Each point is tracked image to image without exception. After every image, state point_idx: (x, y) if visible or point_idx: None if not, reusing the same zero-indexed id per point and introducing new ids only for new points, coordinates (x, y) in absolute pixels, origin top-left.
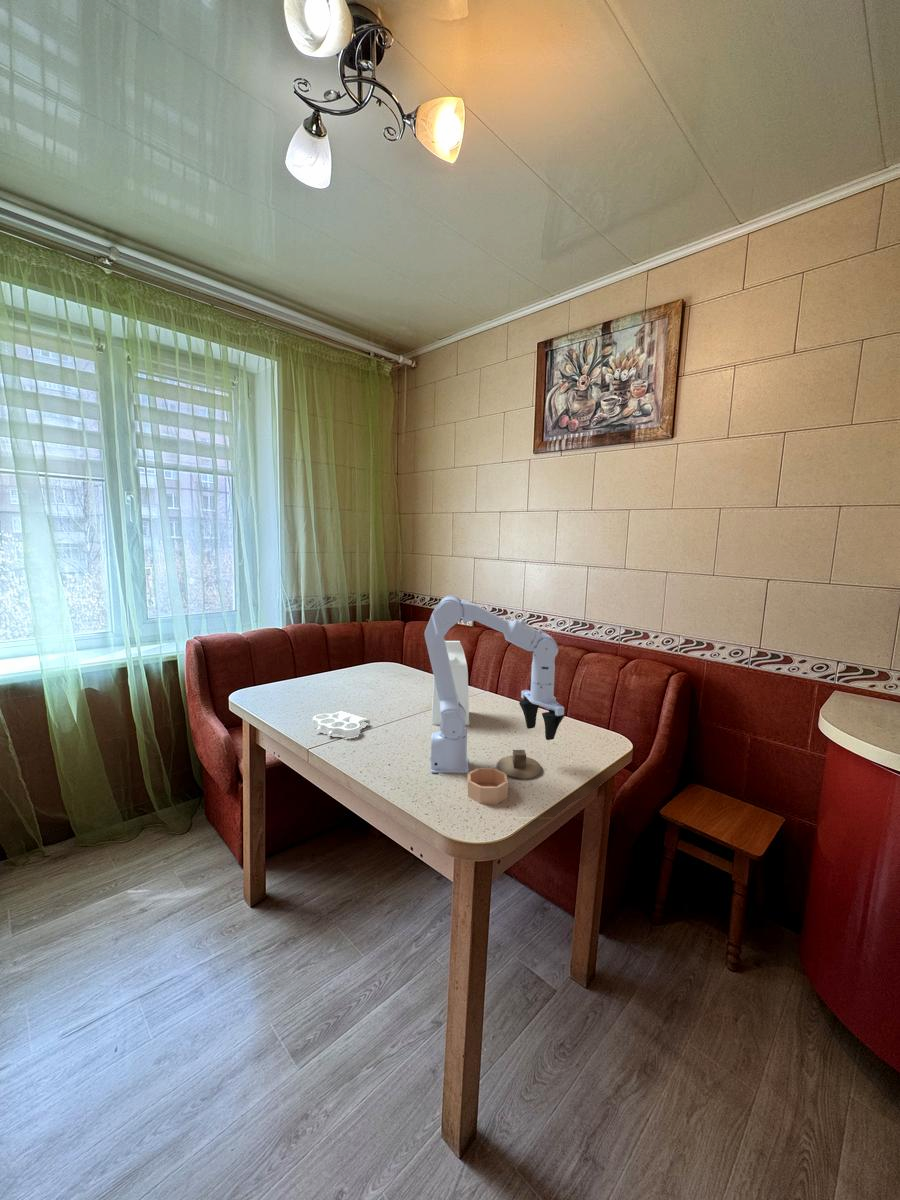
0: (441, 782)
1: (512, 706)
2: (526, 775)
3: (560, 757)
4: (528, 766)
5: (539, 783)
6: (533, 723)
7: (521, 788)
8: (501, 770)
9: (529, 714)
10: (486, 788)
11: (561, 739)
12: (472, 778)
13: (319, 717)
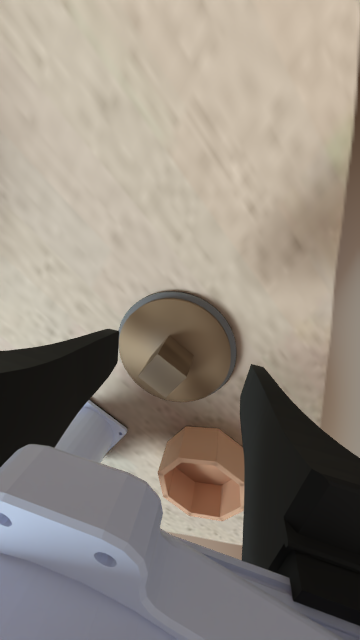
0: (129, 469)
1: None
2: (219, 380)
3: (195, 187)
4: (190, 342)
5: (252, 364)
6: (107, 347)
7: (236, 405)
8: (165, 399)
9: (71, 404)
10: (230, 515)
11: (90, 32)
12: (170, 477)
13: None
